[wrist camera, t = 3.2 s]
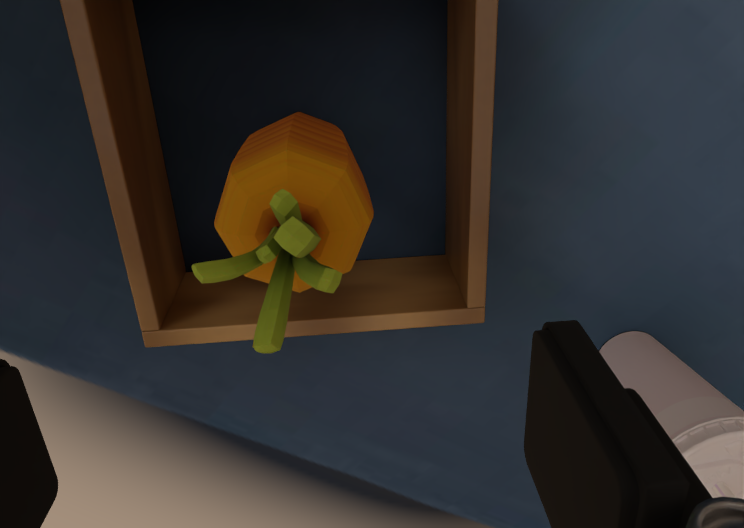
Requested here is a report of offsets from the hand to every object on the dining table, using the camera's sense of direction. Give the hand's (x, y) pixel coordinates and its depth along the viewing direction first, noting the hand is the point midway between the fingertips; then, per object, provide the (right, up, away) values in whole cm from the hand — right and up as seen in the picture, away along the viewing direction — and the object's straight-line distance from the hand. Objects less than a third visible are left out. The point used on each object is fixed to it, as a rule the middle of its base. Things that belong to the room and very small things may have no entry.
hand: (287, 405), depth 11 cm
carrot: (-2, +9, +17) cm, 19 cm away
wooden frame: (-2, +8, +17) cm, 19 cm away
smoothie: (+16, -3, +24) cm, 29 cm away
